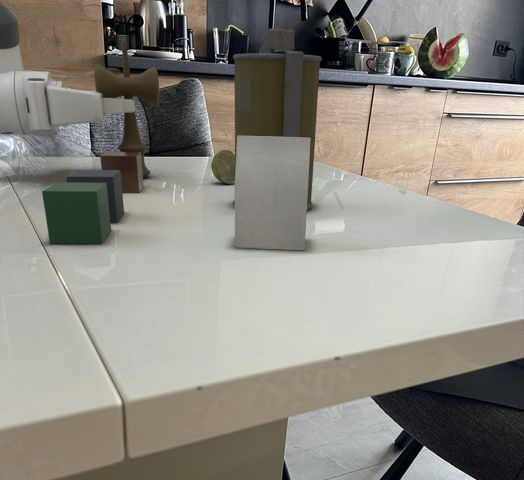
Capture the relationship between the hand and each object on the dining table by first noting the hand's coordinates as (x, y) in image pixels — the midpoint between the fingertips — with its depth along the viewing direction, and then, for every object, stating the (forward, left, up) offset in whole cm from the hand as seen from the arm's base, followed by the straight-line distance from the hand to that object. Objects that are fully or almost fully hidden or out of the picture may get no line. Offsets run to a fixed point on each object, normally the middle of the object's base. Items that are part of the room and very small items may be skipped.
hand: (134, 105), depth 86 cm
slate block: (-1, -31, -11) cm, 33 cm away
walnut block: (-1, -12, -11) cm, 16 cm away
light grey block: (+18, -42, -11) cm, 47 cm away
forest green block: (-1, -40, -11) cm, 41 cm away
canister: (+20, -23, -11) cm, 33 cm away
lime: (+14, -5, -11) cm, 19 cm away
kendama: (-1, 0, -11) cm, 11 cm away
